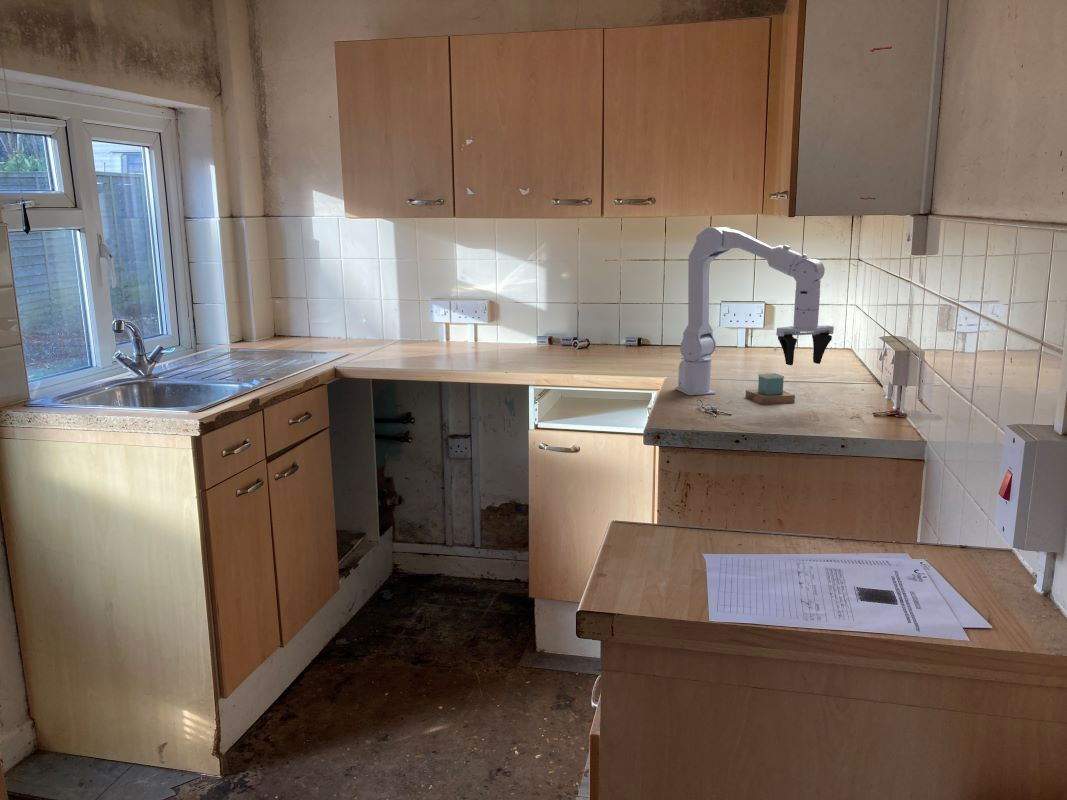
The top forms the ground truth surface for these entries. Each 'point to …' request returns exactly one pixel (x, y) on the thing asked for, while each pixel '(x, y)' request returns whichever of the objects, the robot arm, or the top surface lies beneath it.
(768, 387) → the teal tin
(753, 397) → the walnut block
